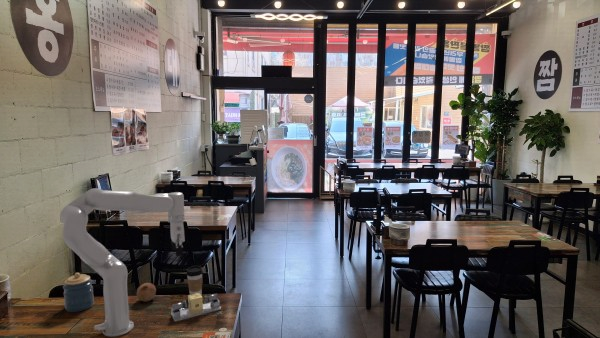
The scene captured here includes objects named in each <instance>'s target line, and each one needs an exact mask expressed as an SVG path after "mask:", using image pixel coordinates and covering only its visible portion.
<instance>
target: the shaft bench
mask: <svg viewBox="0 0 600 338" xmlns="http://www.w3.org/2000/svg"><path fill="white" fill-rule="evenodd" d="M203 301H204V303H203V311H201V312H197V313H193V314H191V312H190V311H189V308H188V301H187V300H183V301H181V302H178V303H174V304H171V309H170V310H171V312H170V315H171V317H172V319H173V321H174V323H175V322H180V321H182V320H184V321H185V320H187V319H190V318H193V317H194V318H195V317H198V316H202V315H205V314H209V313H213V312H217V311H220V310H221V309H222V306H221V305H220V304H221V303H220V302H221V301H220V300H219V295H218V293H214V294H211V295H210V294H209V295H203Z"/></svg>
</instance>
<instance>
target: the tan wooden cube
mask: <svg viewBox="0 0 600 338" xmlns="http://www.w3.org/2000/svg"><path fill="white" fill-rule="evenodd" d="M203 301H204V297H203V296H202V295H200V293H196V294H192V295H190V294H189V295H187V308H189V311H190V312H191V314H193V313H197V312H201V311H203V304H204V303H203Z"/></svg>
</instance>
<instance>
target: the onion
mask: <svg viewBox="0 0 600 338" xmlns="http://www.w3.org/2000/svg"><path fill="white" fill-rule="evenodd" d="M156 292H157V288H156V286H155V284H153V283H150V282H145V283H143V284H141V285H140V286H138V288H137V289H136V297H137V299H138V300H139V301H141V302H144V303H147V302H150V301H151V300H153V299H154V297H155V296H156Z"/></svg>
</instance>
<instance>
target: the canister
mask: <svg viewBox="0 0 600 338" xmlns="http://www.w3.org/2000/svg"><path fill="white" fill-rule="evenodd" d="M63 283H64V284H63V286H62V289H63V290H64V291H63V297H64V298H63V300H64V308H65V311H66V312H68V313H78V312H83V311H86V310H88V309H90V308H91V307H93V306H94V304H95V298H94V286H93V285H92V284H93V280H92V279H91V276H90V275H87V274H85V273H80V272H75V273H74V275H71V276H69V277H67V278H66V279H65V281H64V282H63Z"/></svg>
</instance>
